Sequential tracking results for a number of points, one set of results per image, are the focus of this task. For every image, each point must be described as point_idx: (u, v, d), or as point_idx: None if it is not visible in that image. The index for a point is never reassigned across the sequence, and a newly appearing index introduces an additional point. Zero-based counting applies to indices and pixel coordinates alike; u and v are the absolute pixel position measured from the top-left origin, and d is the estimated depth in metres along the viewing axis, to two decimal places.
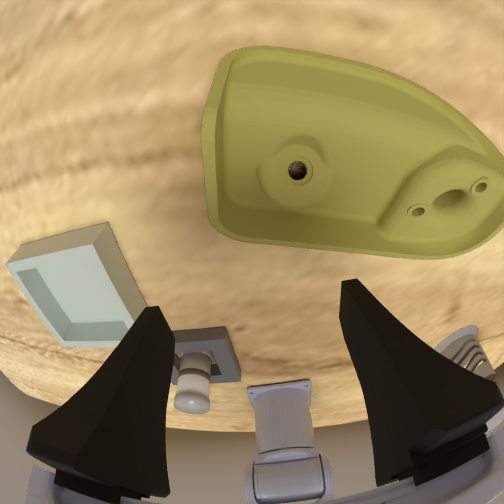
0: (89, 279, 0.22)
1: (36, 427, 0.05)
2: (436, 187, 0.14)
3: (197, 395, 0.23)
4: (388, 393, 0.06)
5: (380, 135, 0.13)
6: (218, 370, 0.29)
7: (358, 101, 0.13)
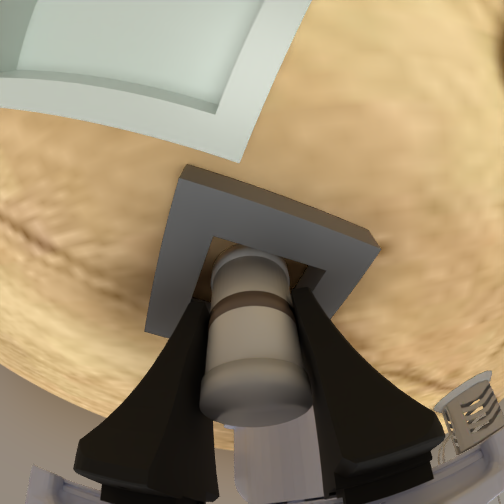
0: None
1: (85, 442, 0.05)
2: None
3: (303, 375, 0.08)
4: (321, 409, 0.06)
5: None
6: None
7: None
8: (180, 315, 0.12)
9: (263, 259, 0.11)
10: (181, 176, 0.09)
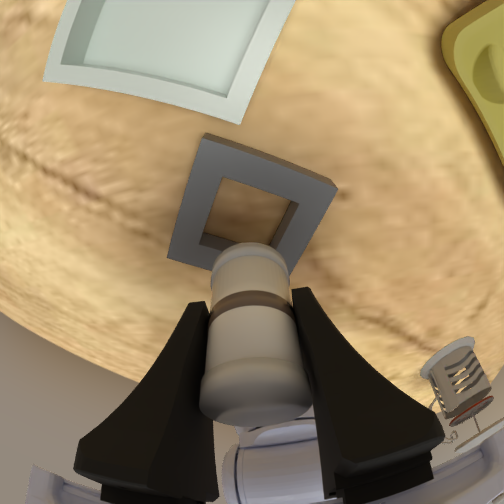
0: None
1: (85, 441, 0.05)
2: None
3: (303, 374, 0.08)
4: (321, 409, 0.06)
5: None
6: None
7: None
8: (196, 240, 0.17)
9: (263, 259, 0.11)
10: (203, 137, 0.14)
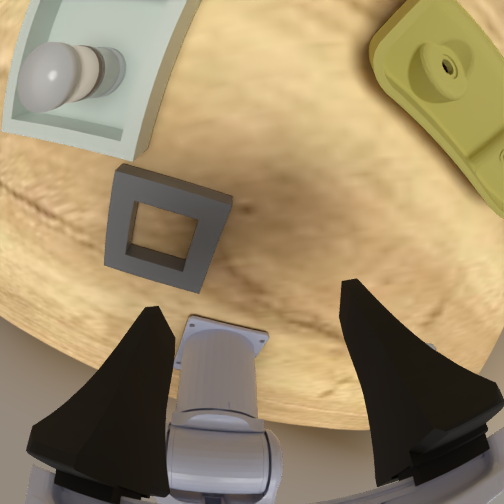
0: (115, 45, 0.12)
1: (36, 427, 0.05)
2: None
3: (72, 50, 0.08)
4: (388, 393, 0.06)
5: None
6: (178, 264, 0.21)
7: (497, 54, 0.10)
8: (122, 251, 0.20)
9: (101, 47, 0.12)
10: (116, 169, 0.16)
